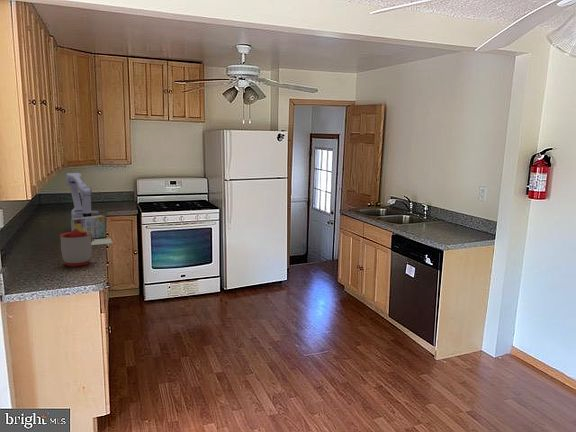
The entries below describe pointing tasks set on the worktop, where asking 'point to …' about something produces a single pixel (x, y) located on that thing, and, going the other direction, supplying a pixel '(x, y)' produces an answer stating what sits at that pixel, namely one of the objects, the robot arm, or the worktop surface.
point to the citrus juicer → (76, 248)
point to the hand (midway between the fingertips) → (87, 224)
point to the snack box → (90, 225)
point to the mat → (101, 241)
